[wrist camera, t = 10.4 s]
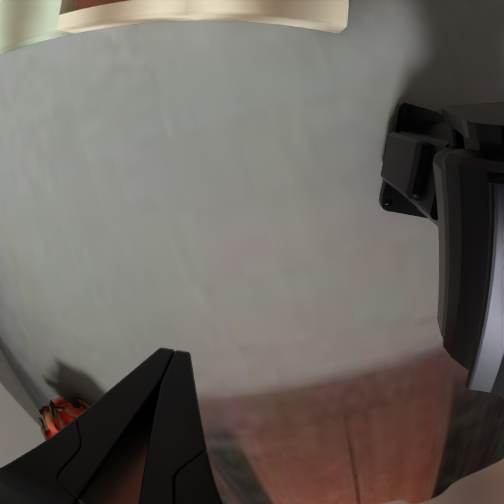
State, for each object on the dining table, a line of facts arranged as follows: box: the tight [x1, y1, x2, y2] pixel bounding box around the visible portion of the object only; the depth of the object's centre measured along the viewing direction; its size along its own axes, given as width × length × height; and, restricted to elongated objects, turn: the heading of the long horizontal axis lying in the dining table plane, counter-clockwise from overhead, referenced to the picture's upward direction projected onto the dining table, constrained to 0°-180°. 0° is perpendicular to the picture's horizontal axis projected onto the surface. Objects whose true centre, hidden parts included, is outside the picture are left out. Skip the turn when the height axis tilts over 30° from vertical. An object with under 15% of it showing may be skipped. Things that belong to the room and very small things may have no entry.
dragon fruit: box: [38, 397, 90, 440], centre depth 28 cm, size 8×8×12 cm
